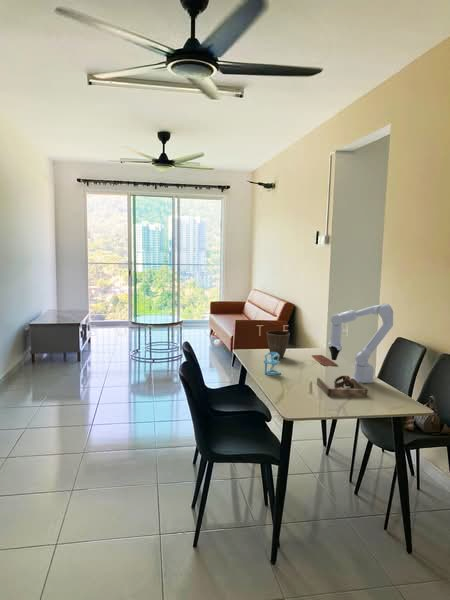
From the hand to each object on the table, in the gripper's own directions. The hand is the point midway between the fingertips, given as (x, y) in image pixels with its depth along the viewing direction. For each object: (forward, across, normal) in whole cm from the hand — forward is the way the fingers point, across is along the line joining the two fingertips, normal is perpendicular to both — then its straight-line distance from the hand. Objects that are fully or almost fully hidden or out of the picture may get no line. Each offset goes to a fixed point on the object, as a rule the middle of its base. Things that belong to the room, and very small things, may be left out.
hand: (333, 359), depth 224 cm
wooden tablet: (+10, -33, +6) cm, 35 cm away
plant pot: (+10, -39, -23) cm, 46 cm away
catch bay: (+9, +22, -4) cm, 24 cm away
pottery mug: (+10, +21, -1) cm, 23 cm away
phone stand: (+10, -4, -34) cm, 36 cm away
